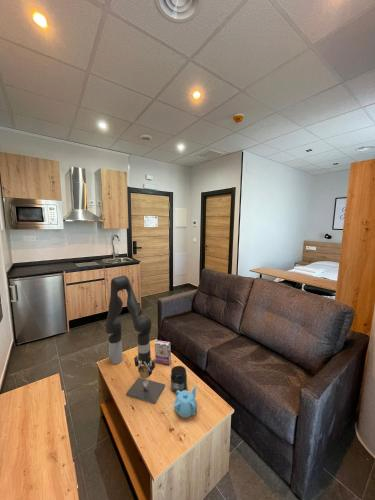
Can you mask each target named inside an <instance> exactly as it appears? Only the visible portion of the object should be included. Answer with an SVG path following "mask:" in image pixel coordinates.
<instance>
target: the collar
mask: <svg viewBox="0 0 375 500" xmlns="http://www.w3.org/2000/svg"><path fill="white" fill-rule="evenodd" d="M150 376H151V375H150ZM150 376H149V369H148V368H147V367H146V365H141V368H140V373H139V378H143V379H146V380H147V379H148V378H149V377H150Z"/></svg>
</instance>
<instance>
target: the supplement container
mask: <svg viewBox="0 0 375 500" xmlns="http://www.w3.org/2000/svg"><path fill="white" fill-rule="evenodd" d="M187 376H188V374H187V369H186V367H185V366H183V365H176V366H173V367H172V368H171V370H170V389H171V390H172V392H173V393H176V391H178V390H179V391H180V392H181V391H183V390H187V388H188V384H187V383H188V381H187V379H188V377H187Z"/></svg>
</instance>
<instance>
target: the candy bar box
mask: <svg viewBox="0 0 375 500" xmlns="http://www.w3.org/2000/svg"><path fill="white" fill-rule="evenodd" d="M154 355H155V358H154V359H155V364H159V365H165V366H170V364H171V363H172V350H171V342H170V341H166V340H165V341H163V340H160V339H159V340H156V341H155V342H154Z"/></svg>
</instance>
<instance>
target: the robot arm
mask: <svg viewBox="0 0 375 500" xmlns="http://www.w3.org/2000/svg"><path fill="white" fill-rule="evenodd" d="M123 290H125V291H126V293H127V297H126V298H127V299H126V308H127V310H128V312H129V313H130V314H129V315H130V316H131V319H132V323H133V329H134V330H135V332H138V334H137V355H136V356H135V357H134V358H133V359H134V361H133V362H134V366H135V367H137V369H138V370H137V372H138V373H139V374H140V368H141V366H143V365H146V367H147V368H148V369H149V376H151V375H152V374H153V371H154V370H155V368H156V358H154V359H152V358H151V344H150V335H151V329H152V320H151V317H149V316H144V317H141V315H142V314H143V309H142V308H141V306H140V304H139V302H138V300H137V298H136V296H135V293H134V289H133V287H132V284H131V281H130V280H129V278H128V276H126V275H119V276H116V277H114V278H112V279H111V281H110V294H109V295H110V296H109V302H108V310H107V311H108V313H107V318H106V321H105V325H104V326H105V328H104V329H105V333H107V334H108V335H110V336H108V348H109V349H108V362H109V363H110V364H112V365H118V364H120V363H122V361H123V358H124V357H123V343H122V322H121V320H120V318H118V317H119V316H120V314H121V312H122V310H123V307H124V306H123V305H124V302H123V300H122V298H120V297H119V292H120V291H123ZM139 317H141V318H139Z"/></svg>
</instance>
